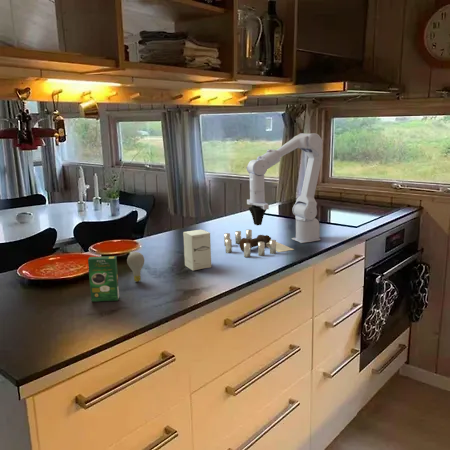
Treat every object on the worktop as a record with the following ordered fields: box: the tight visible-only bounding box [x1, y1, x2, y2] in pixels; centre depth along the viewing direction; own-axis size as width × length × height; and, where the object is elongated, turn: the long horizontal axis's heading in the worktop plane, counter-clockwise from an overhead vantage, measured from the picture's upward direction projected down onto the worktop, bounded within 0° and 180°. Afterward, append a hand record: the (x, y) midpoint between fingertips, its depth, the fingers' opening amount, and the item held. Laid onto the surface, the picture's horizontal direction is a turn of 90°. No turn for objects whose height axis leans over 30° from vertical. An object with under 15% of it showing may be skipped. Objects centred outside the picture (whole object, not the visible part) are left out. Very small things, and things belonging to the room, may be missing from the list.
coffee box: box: [87, 255, 120, 303], centre depth 133 cm, size 8×3×13 cm, turn 93°
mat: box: [265, 238, 295, 253], centre depth 186 cm, size 7×20×1 cm, turn 24°
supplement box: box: [182, 229, 212, 271], centre depth 161 cm, size 7×7×13 cm
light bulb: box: [126, 251, 145, 283], centre depth 147 cm, size 6×6×10 cm
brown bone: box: [239, 234, 272, 252], centre depth 183 cm, size 6×5×15 cm
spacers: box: [223, 229, 277, 258], centre depth 181 cm, size 16×22×5 cm
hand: (257, 224), depth 182 cm, fingers closed
